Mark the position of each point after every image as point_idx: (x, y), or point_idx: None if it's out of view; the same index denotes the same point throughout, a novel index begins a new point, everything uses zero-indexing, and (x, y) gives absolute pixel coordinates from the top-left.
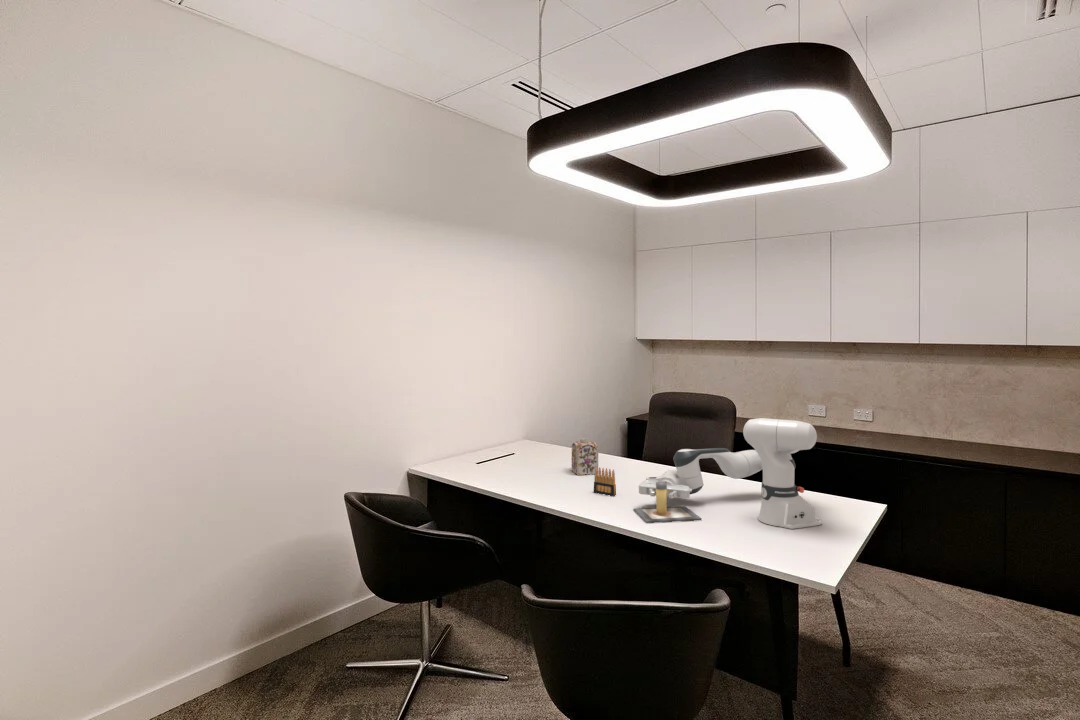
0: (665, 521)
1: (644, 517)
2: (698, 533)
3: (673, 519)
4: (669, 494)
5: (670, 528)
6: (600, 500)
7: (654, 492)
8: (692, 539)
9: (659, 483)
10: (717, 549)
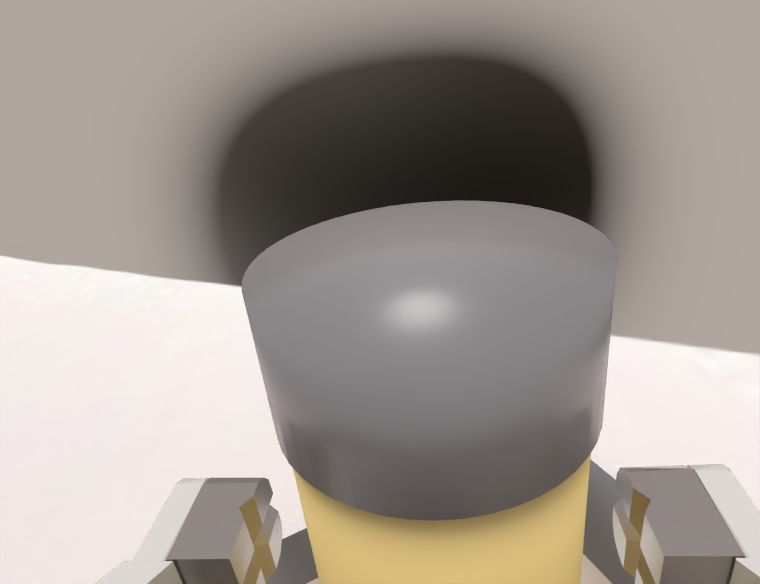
0: None
1: (613, 500)
2: (143, 396)
3: (284, 548)
4: (248, 479)
5: None
6: None
7: (642, 527)
8: (214, 327)
9: (459, 219)
10: (136, 292)
